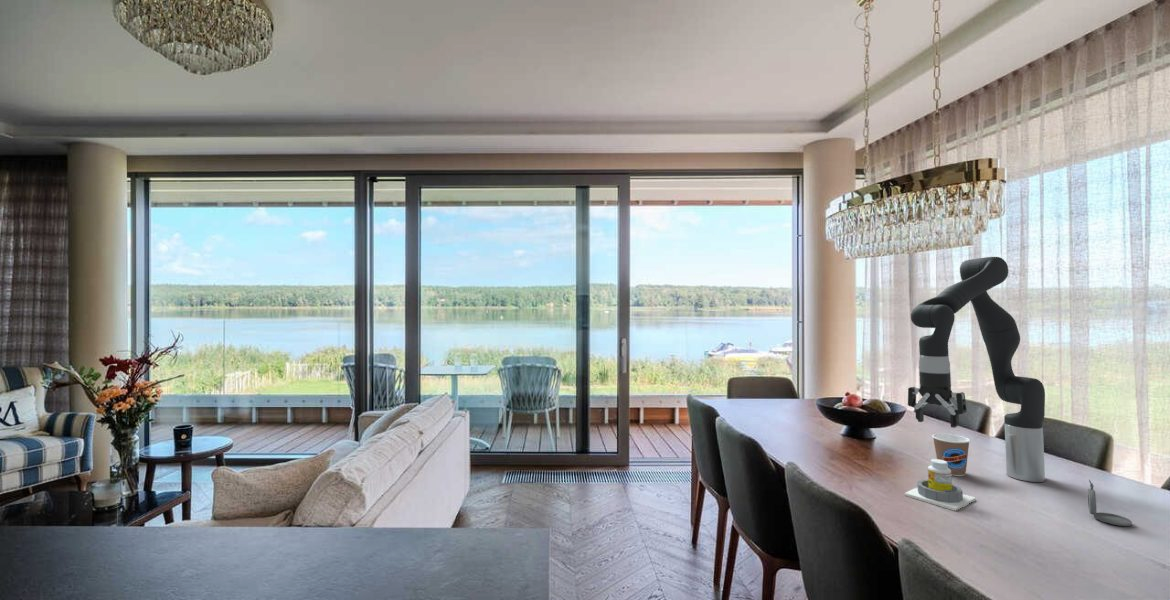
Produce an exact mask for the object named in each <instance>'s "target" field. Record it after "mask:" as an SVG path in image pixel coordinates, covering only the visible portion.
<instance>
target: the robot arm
mask: <svg viewBox="0 0 1170 600" xmlns="http://www.w3.org/2000/svg"><path fill="white" fill-rule="evenodd" d="M959 274H960V279H961V281H959V282H956V283H953V284H952V285H950V286H948V287H946V288H944V289H943V290H942V291H941V292H940V293H939V294H937V295H936V296H934V297H932V298H930V299H927V300H925V301H922V302H920V303H918V304H917V305H916V306H915V307H914V308H912V310H911V313H910V320H911V322H912V324H913V325H915V327H918V328H922V329H923V328H924V329H927V328H928V329H934V331H933V332H932V334H930V335H924V336H921V337H920V338H919V341H918V347H919V349H918V350H919V357H918V358H919V360H918V370H919V371H918V372H919V377H918V378H919V388H918V387H915V386H911V387H908V389H907V390H908V391H907V405H908V407H912V408H913V409H914V410H915V412H914V413H915V419H916V421H917V422H918V423H922V422H924V421H925V419H924V418H925V417H924V409H923V407H925V406H926V405H927V404H928V405H937V406H943V407H944V408H945V409H946V410H947V411H948V412H949V413H950V415H949V416H950V419H949V420H950V428H954V429H955V428H957V427H958V426H959V425H960V417H959V416H960V415H962V414H966V413H967V411H968V410H967V402H966V395H965V392H953V391H952V381H951V380H952V379H951V363H950V362H951V361H950V359H949V358H950V357H949V356H950V355H949V340H950V336H951V332H952V328H953V326H954V322H955V318H956V316H955V314H956V313H958V312H959V311H960V310H962V309H963V308H964V306H966V305H967V304H968V303H971V305H972V307H973V310H974V314H975V316H976V319H977V323H978V326H979V327H978V328H979V330H980V333H981V337H982V340H983V342H984V345H985V349H986V351H987V356H988V359H989V362H990V367H991V370H992V372H991V373H992V377H993V383H994V387H995V391H996V394H997V395H998V397H999V399H1000V400H1002V401H1004V402H1006V403H1010V404H1014V405H1020V410H1019V411H1018V412H1014V413H1013V412H1012V413H1006V414H1005V415H1004V417H1003V422H1004V442H1005V446H1004V447H1005V467H1006V475H1007V476H1008V477H1011V478H1013V479H1016V480H1021V481H1024V482H1025V481H1026V482H1033V483H1042V482H1045V481H1046V474H1045V473H1046V471H1045V450H1044V449H1045V447H1044V446H1045V445H1044V444H1045V443H1044V427H1043V423H1044V420H1045V415H1046V413H1045V411H1046V409H1045V408H1046V406H1045V404H1046V391H1045V390H1046V389H1045V387H1044V384H1043V382H1041V381H1040V380H1039V379H1038V378H1034V377H1029V376H1027V377H1026V376H1018V375H1015V373H1014V370H1013V367H1012V365H1013V364H1012V359H1013V357H1014V354H1015V353H1016V352H1017V350H1018V348H1019V346H1020V343H1021V335H1020V332H1019V329H1018V326H1017V322H1016V320H1015V318H1014V317H1013V316H1012V314H1010V313H1009V312H1008V311H1006V309H1004V308H1003V307H1002V306H1001V305H999V304H998V303H997V302H996V301H994V300H993V299H992V297H991V296H990V295H989V293H988V291H989V290H991V289H993V288H994V287H997V286H999V285H1001V284H1003V283H1004V281H1005V280H1006V279H1007V278H1008V275H1009V266H1008V264H1007V261H1005V260H1004V258H1002V257H1000V256H988V257H987V256H986V257H979V258H978V257H977V258H972V259H967V260H964V261H962V262H961V264H960V267H959ZM918 394H919V395H920V396H921V398H920V399H919V400H918V402H917V395H918ZM952 397H953V399H954V401H956V406H957V407H956V406H955V404H954V402H953V401H952V400H951V399H952Z"/></svg>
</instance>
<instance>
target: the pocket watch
mask: <svg viewBox="0 0 1170 600" xmlns="http://www.w3.org/2000/svg"><path fill="white" fill-rule="evenodd" d="M1088 483H1089V487H1090V488H1088V489H1087V501H1088V502H1087V503H1088V510H1089V514H1090V515H1092V516H1093V517H1094V518H1095V519H1097V520H1098V521H1100V522H1102V523H1106V524H1110V525H1114V526H1120V527H1129V526H1132V525H1133V521H1132V520H1131V519H1129V518H1127V517H1125V516H1121V515H1118V514H1114V513H1109V512H1101V511H1097V499H1096V497H1097V496H1096V491H1095V490H1094V487H1095V486H1094V483H1092V482H1091V480H1090V479H1088Z"/></svg>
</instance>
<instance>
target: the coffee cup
mask: <svg viewBox="0 0 1170 600" xmlns="http://www.w3.org/2000/svg"><path fill="white" fill-rule="evenodd" d="M931 437H932V439H933V444H934V449H935V454H936V455H935V456H936V459H939V460H944V461H946V462H947V463H948V468H949V469H950V470H951V476H952V475H953V476H954V477H963V476H965V475H966V473H967V468H968V467H967V465H968V457H969V447H970V442H971V439H970V438H968V437H966V436H962V435H957V434H951V433H949V434H948V433H934V434H932V436H931ZM953 476H952V477H953Z"/></svg>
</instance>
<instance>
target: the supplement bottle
mask: <svg viewBox="0 0 1170 600" xmlns="http://www.w3.org/2000/svg"><path fill="white" fill-rule="evenodd" d="M927 474H928V475H927V477H928V479H927V480H928V482H929V488H930V489H933V490H937V491H944V492H952V484H953V483H952V475H951V470H950V469H949V468H948V463H947V462H946V461H944V460H939V459H937V458H932V459H930V465H929V466H927Z"/></svg>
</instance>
